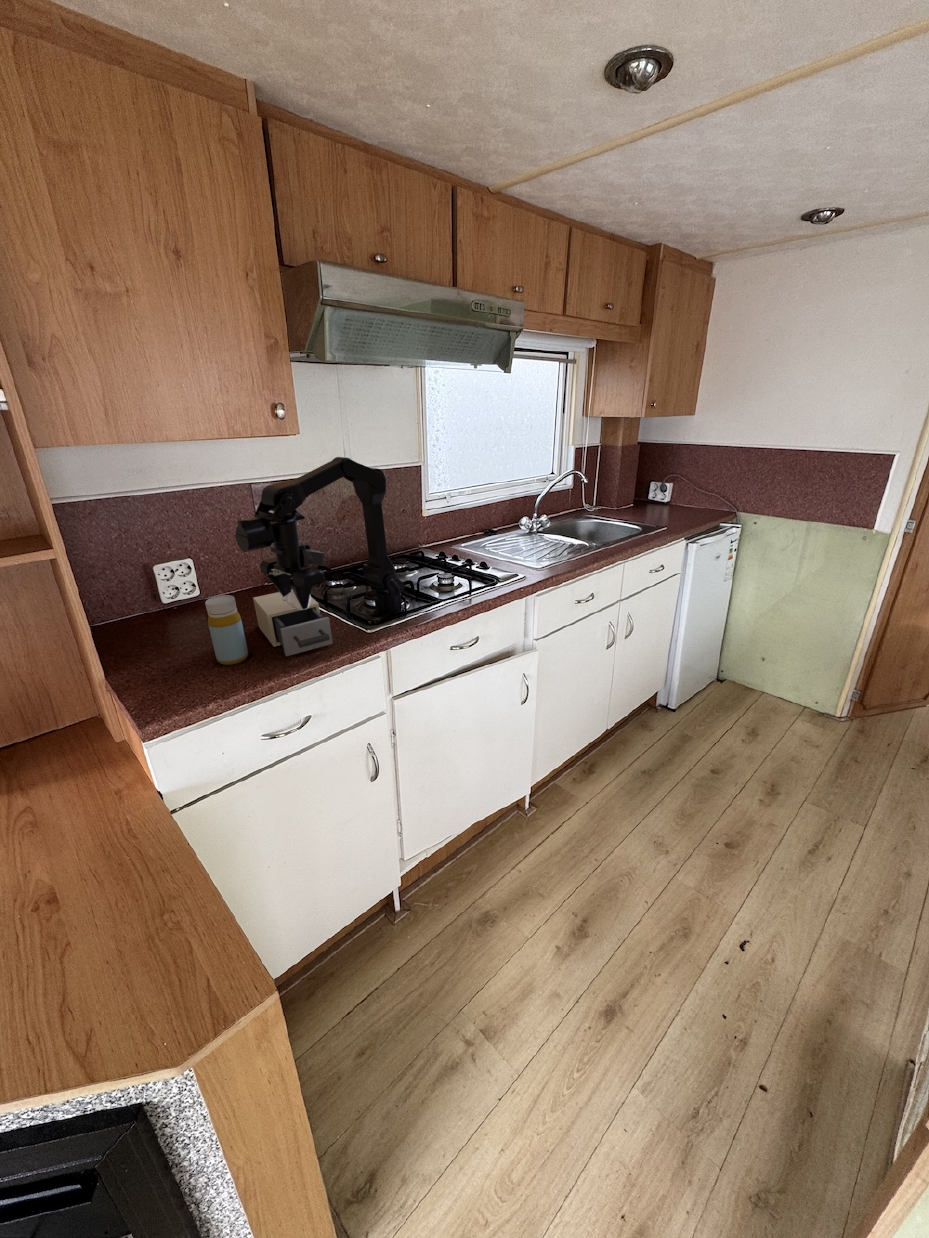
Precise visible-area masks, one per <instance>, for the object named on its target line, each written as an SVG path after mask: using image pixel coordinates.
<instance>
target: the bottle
mask: <svg viewBox="0 0 929 1238" xmlns="http://www.w3.org/2000/svg"><path fill="white" fill-rule="evenodd" d="M204 604H205V608H206V612H207V615H208V617H207V626H208V629H209V633H210V638H211V642H212V647H213V651H214V655H215V658H216V662H218V663H219V664H221V665H224V666H232V665H236V664H240V663H242V662H244V661H245V660H247V658H248V656H249V650H248V645H247V640H246V636H245V630H244V626H243V622H242V618H241V614H240V613H239V611H238V608H237V603H236V599H235V597H234V595H229V594H225V595H216V596H213V597H210V598H208V599H207V600H206V601H205V603H204Z"/></svg>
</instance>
